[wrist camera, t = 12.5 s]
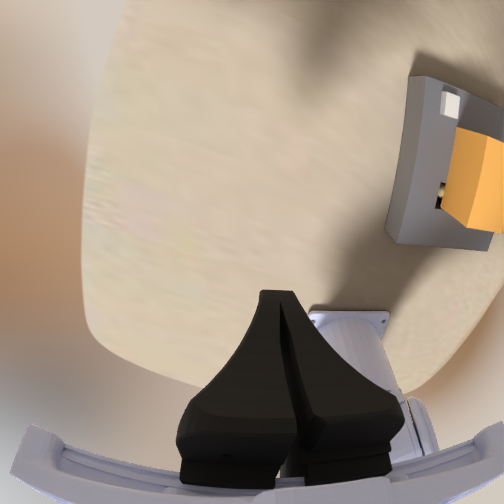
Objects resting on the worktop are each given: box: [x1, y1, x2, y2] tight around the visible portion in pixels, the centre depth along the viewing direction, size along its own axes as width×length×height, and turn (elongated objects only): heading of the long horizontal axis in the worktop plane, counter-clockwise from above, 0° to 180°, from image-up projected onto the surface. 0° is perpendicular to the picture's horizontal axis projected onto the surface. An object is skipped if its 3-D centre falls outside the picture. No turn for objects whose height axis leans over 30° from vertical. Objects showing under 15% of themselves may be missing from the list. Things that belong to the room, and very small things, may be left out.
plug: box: [438, 127, 504, 233], centre depth 16 cm, size 6×4×6 cm, turn 177°
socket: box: [385, 76, 504, 251], centre depth 18 cm, size 12×10×3 cm
